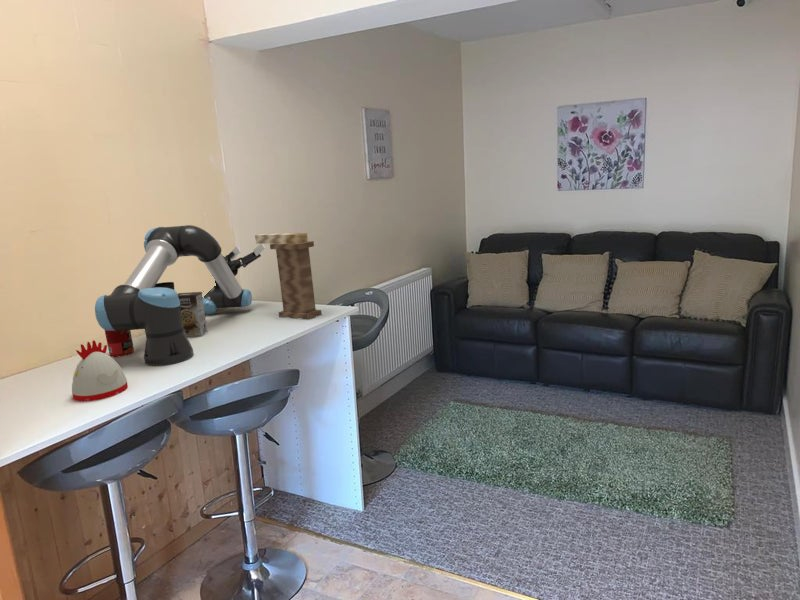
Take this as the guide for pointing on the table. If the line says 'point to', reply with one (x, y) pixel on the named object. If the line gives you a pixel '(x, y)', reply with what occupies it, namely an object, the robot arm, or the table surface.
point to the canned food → (119, 342)
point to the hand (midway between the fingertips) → (251, 246)
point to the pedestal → (296, 280)
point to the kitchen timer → (97, 375)
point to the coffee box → (193, 314)
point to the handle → (281, 238)
